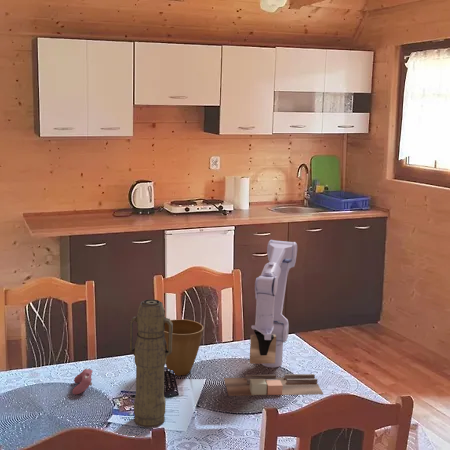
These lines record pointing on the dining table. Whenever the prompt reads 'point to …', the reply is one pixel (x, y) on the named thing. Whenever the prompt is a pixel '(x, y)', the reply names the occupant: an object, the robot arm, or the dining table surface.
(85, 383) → the red curved piece
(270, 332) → the robot arm
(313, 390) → the walnut rack
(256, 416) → the dining table surface
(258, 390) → the offcut sage
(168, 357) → the plant pot
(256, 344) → the birch sheet
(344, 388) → the dining table surface
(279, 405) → the dining table surface
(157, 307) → the thermos
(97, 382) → the dining table surface
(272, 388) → the offcut terracotta
